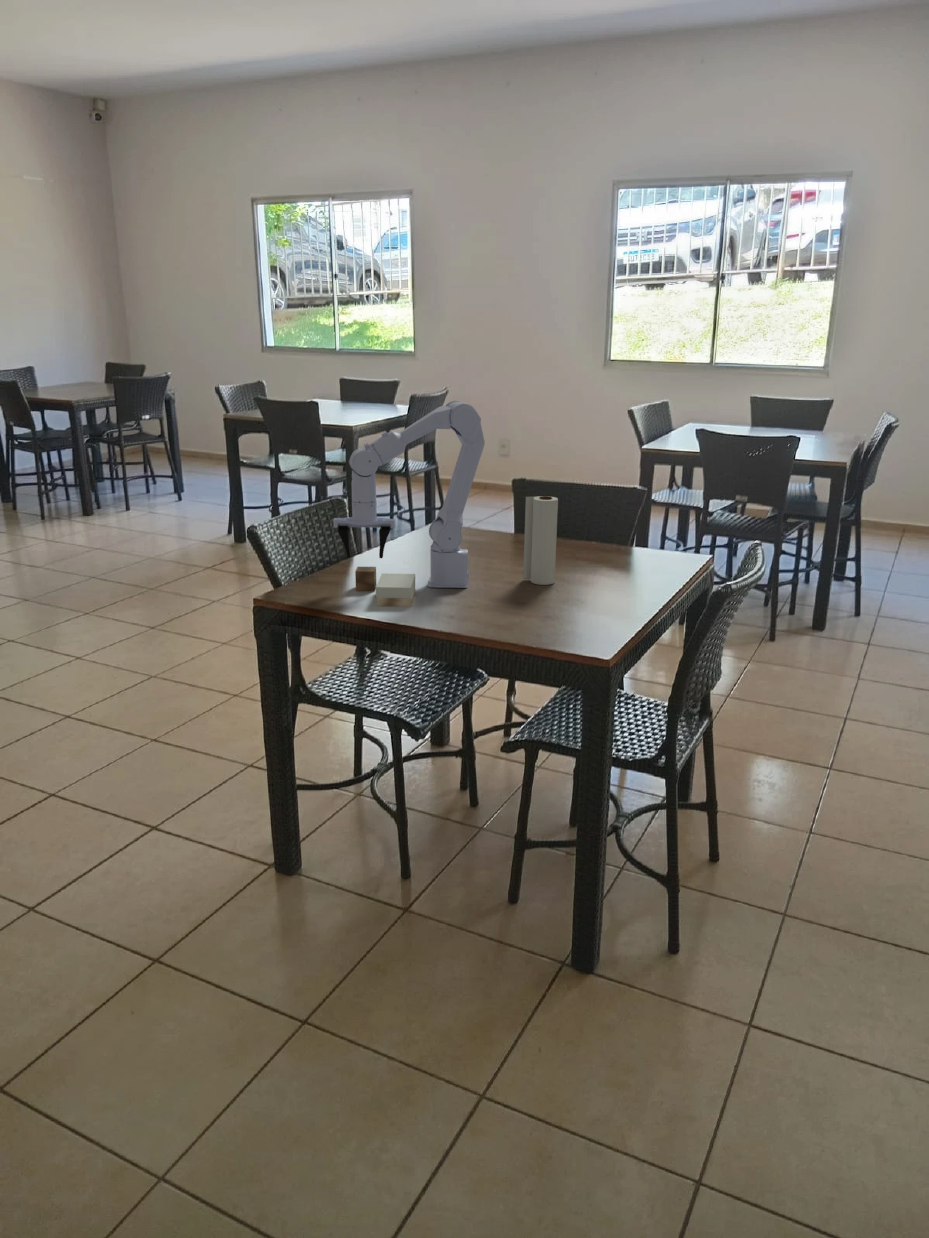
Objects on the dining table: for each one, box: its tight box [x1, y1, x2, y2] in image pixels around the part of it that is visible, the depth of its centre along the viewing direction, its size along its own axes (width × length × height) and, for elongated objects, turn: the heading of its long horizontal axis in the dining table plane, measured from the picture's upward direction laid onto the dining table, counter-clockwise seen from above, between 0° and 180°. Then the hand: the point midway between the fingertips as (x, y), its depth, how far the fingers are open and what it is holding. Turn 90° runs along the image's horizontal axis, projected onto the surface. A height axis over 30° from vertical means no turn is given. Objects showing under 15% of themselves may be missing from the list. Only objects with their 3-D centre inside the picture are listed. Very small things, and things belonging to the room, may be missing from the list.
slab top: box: [375, 572, 416, 599], centre depth 215 cm, size 8×12×2 cm, turn 178°
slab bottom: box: [376, 586, 416, 607], centre depth 216 cm, size 8×12×2 cm, turn 0°
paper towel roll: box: [522, 495, 559, 586], centre depth 227 cm, size 7×6×21 cm
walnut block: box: [354, 566, 377, 593], centre depth 223 cm, size 4×4×5 cm
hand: (365, 557), depth 221 cm, fingers open, 7 cm apart
